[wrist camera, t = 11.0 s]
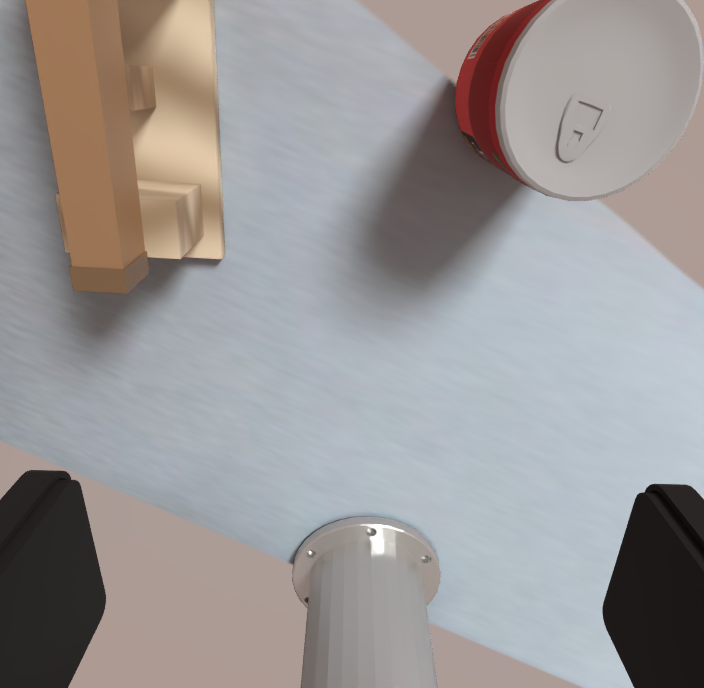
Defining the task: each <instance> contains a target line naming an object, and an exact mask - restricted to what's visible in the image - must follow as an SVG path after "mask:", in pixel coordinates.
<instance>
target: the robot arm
mask: <svg viewBox="0 0 704 688" xmlns="http://www.w3.org/2000/svg"><path fill="white" fill-rule="evenodd" d="M440 574H441V572H440V566H439V560H438V557H437V555H436V552H435V550H434V548H433V547H432V545H431V544H430V542H429V541H428V540H427V539H426V538H425V537H424V536H423V535H422V534H421V533H419V532H418V531H416V530H415V529H413V528H411V527H410V526H408V525H405V524H403V523H400V522H398V521H395V520H391V519H386V518H381V517H369V516H367V517H352V518H348V519H343V520H339V521H336V522H333V523H331V524H328V525H326V526H324V527H322V528H320V529H319V530H317V531H315V532H314V533H313V534H312V535H311V536H309V537H308V538H307V539H306V540H305V541H304V543H303V544H302V545H301V547H300V548H299V550H298V552H297V554H296V556H295V559H294V566H293V578H292V579H293V580H292V581H293V585H294V589H295V592H296V593H297V595H298V597H299V599H300V601H301V602H302V603H303V604H304V605H305V606H306V607H307V608H308V612H307V623H306V634H305V647H304V657H303V668H302V680H301V688H438V686H437V678H436V672H435V664H434V657H433V649H432V642H431V635H430V629H429V628H430V627H429V620H428V613H427V605H428V604H429V603H430V602H431V601H432V599H433V598H434V596H435V595H436V593H437V591H438V587H439V584H440ZM105 604H106V594H105V589H104V585H103V580H102V576H101V572H100V567H99V563H98V559H97V554H96V550H95V546H94V542H93V537H92V533H91V528H90V524H89V520H88V515H87V511H86V507H85V502H84V498H83V494H82V490H81V486H80V483H79V482H78V481H76V480H71V477H70V475H69V474H68V473H67V472H65V471H45V470H30V471H27V472H25V473H24V474H23V475H22V476H21V477H20V478H19V479H18V480H17V481H16V483H15V484H14V485H13V486H12V487H11V488H10V489H9V490H8V492H7V493H6V494H5V495H4V496H3V497H2V498H1V500H0V688H68V686H69V684H70V682H71V680H72V678H73V676H74V674H75V672H76V670H77V668H78V666H79V664H80V662H81V660H82V658H83V656H84V653H85V651H86V649H87V647H88V645H89V643H90V641H91V639H92V637H93V635H94V633H95V631H96V629H97V627H98V625H99V623H100V620H101V618H102V616H103V613H104V609H105ZM603 619H604V623H605V626H606V629H607V631H608V633H609V635H610V637H611V640H612V642H613V644H614V646H615V648H616V650H617V652H618V654H619V656H620V659H621V661H622V663H623V665H624V667H625V669H626V671H627V673H628V675H629V678H630V680H631V682H632V684H633V686H634V688H704V499H703V498H702V497H701V496H700V495H699V494H698V493H697V491H696V490H694V489H693V488H692V487H691V486H688V485H677V484H652V485H649V486H648V487H647V488H646V490H645V493H639V494H638V495H637V497H636V499H635V502H634V505H633V508H632V511H631V515H630V518H629V521H628V525H627V528H626V531H625V534H624V538H623V541H622V544H621V547H620V551H619V554H618V557H617V560H616V564H615V567H614V570H613V574H612V577H611V580H610V583H609V587H608V590H607V593H606V596H605V600H604V603H603Z"/></svg>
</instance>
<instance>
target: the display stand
mask: <svg viewBox="0 0 704 688" xmlns="http://www.w3.org/2000/svg"><path fill="white" fill-rule="evenodd" d="M117 4H118V13H119V22H120V31H121V39H122V48H123V57H124V66H125V75H126V84H127V93H128V102H129V111H130V120H131V129H132V138H133V147H134V156H135V165H136V173H137V182H138V191H139V200H140V209H141V218H142V227H143V236H144V245H145V251H147V255H148V257H153V258H170V259H181V258H182V257H192V258H209V259H222V258H223V257H224V255H225V241H224V219H223V196H222V174H221V152H220V130H219V108H218V86H217V63H216V41H215V19H214V0H117ZM55 197H56V202H57V208H58V213H59V219H60V225H61V230H62V236H63V241H64V247H65V252H67V253H70V252H69V246H68V240H67V234H66V229H65V223H64V217H63V212H62V206H61V200H60V195H59V193H57V194H55Z"/></svg>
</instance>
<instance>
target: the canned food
mask: <svg viewBox="0 0 704 688" xmlns="http://www.w3.org/2000/svg"><path fill="white" fill-rule="evenodd" d="M703 71H704V55H703V42H702V38H701V35H700V31H699V27H698V24H697V21H696V19H695V18H694V16H693V14H692V12H691V10H690V9H689V7H688V5H687V4H686V3H685V2H684V1H683V0H539V1H537V2H534V3H532V4H530V5H528V6H525V7H523V8H521V9H519V10H516V11H514V12H512V13H510V14H508V15H505V16H503V17H502V18H500V19H499V20H498V21H496V22H495V23H493V24H492V25H491V26H489V27H488V28H487V29H486V30H485V31H484V32H483V33H482V34H481V35H480V36H479V38H478V39H477V40H476V42H475V43H474V45H473V46H472V47H471V49H470V50H469V52H468V54H467V56H466V58H465V60H464V63H463V65H462V67H461V70H460V73H459V77H458V80H457V86H456V95H455V105H456V115H457V119H458V123H459V127H460V129H461V131H462V134H463V136H464V138H465V140H466V141H467V142H468V144H469V145H470V146H471V148H472V149H473V150H474V151H475V152H476V153H478V154H479V155H480V156H481V157H482V158H484V159H485V160H487V161H488V162H490V163H492V164H493V165H495V166H496V167H498V168H499V169H501V170H503V171H504V172H506V173H507V174H509V175H510V176H512V177H513V178H515V179H517V180H518V181H520V182H521V183H523V184H524V185H527V186H529V187H530V188H532V189H534V190H536V191H538V192H540V193H542V194H544V195H546V196H550V197H554V198H559V199H563V200H568V201H588V200H594V199H599V198H604V197H607V196H609V195H612V194H615V193H618V192H620V191H623V190H625V189H626V188H628V187H630V186H631V185H633V184H635V183H636V182H638V181H640V180H641V179H642V178H644V177H645V176H646V175H647V174H649V173H650V172H651V171H652V170H653V169H655V168H656V167H657V166H658V165H659V164H660V163H661V162H662V161H663V159H664V158H665V157H666V156H667V155H668V154H669V153H670V152H671V151H672V149H673V148H674V147H675V145H676V143H677V142H678V140H679V139H680V137H681V136H682V134H683V133H684V131H685V130H686V128H687V126H688V123H689V121H690V119H691V117H692V115H693V112H694V111H695V108H696V104H697V101H698V98H699V94H700V91H701V87H702V79H703Z"/></svg>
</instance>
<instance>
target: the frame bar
mask: <svg viewBox="0 0 704 688" xmlns="http://www.w3.org/2000/svg"><path fill="white" fill-rule="evenodd" d="M25 1H26V6H27V12H28V18H29V24H30V29H31V35H32V41H33V46H34V52H35V58H36V63H37V69H38V75H39V81H40V86H41V92H42V98H43V103H44V109H45V115H46V120H47V126H48V132H49V138H50V143H51V149H52V155H53V160H54V166H55V172H56V177H57V183H58V189H59V195H60V200H61V206H62V212H63V217H64V223H65V229H66V234H67V240H68V246H69V252H70V257H71V263H72V265H71V266H69V270H70V276H71V281H72V287H73V291H86V292H104V293H121V294H128V293H129V292H130V291H131V290H132V289H133V288H134V287H135V286H136V285H138V284H139V283H140V282H141V281H142V280H143V279H144V278H145V277H146V276H147V275H148V274H149V264H148V255H147V251H145V245H144V236H143V227H142V218H141V209H140V200H139V191H138V182H137V173H136V165H135V156H134V147H133V138H132V129H131V120H130V111H129V102H128V93H127V84H126V75H125V66H124V57H123V48H122V39H121V31H120V22H119V13H118V4H117V0H25Z"/></svg>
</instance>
